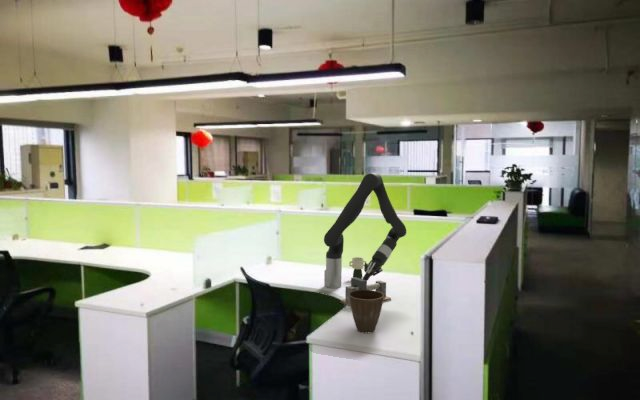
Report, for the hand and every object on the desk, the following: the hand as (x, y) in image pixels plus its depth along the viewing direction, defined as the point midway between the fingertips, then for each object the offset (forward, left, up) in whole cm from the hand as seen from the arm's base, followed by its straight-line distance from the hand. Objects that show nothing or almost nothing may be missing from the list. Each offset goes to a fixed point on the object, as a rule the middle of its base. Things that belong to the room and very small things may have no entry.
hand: (364, 280), depth 251 cm
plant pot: (+21, -39, -12) cm, 45 cm away
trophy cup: (-26, +43, -12) cm, 52 cm away
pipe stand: (+1, +1, -12) cm, 12 cm away
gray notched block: (-1, -4, -8) cm, 9 cm away
